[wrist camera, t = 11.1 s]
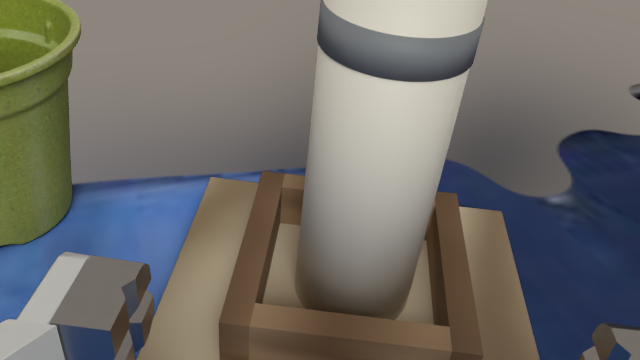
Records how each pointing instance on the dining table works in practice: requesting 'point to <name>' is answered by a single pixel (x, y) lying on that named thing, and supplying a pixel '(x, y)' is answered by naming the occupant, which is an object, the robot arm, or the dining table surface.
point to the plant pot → (34, 116)
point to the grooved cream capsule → (378, 146)
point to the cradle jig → (327, 327)
